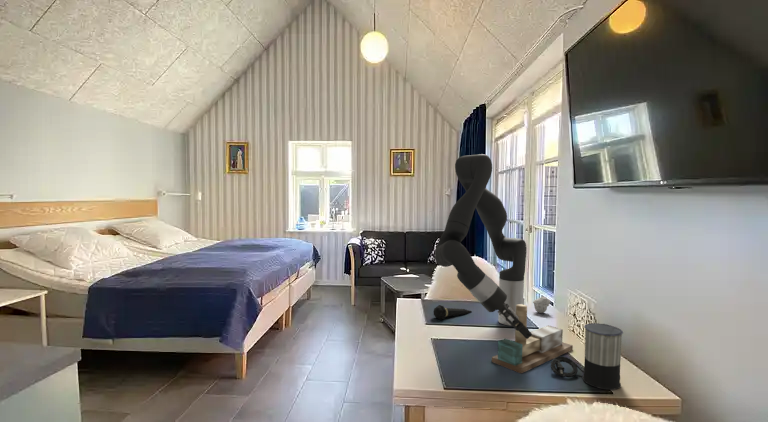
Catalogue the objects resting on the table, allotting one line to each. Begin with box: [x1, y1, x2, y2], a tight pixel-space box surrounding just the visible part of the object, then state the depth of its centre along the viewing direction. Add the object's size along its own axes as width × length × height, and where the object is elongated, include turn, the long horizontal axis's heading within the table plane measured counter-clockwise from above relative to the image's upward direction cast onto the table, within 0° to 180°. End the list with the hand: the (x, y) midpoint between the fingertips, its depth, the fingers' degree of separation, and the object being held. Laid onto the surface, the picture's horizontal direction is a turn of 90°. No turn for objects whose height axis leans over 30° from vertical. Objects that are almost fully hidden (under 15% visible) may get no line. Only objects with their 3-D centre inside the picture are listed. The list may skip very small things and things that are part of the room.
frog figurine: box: [532, 296, 551, 314], centre depth 175 cm, size 6×7×7 cm
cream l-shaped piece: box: [514, 304, 541, 357], centre depth 127 cm, size 18×3×15 cm, turn 128°
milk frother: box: [550, 322, 624, 391], centre depth 113 cm, size 14×16×15 cm
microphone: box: [432, 304, 473, 320], centre depth 170 cm, size 6×6×20 cm
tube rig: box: [491, 325, 574, 374], centre depth 129 cm, size 29×10×7 cm, turn 128°
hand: (527, 334), depth 124 cm, fingers closed on cream l-shaped piece, 3 cm apart
